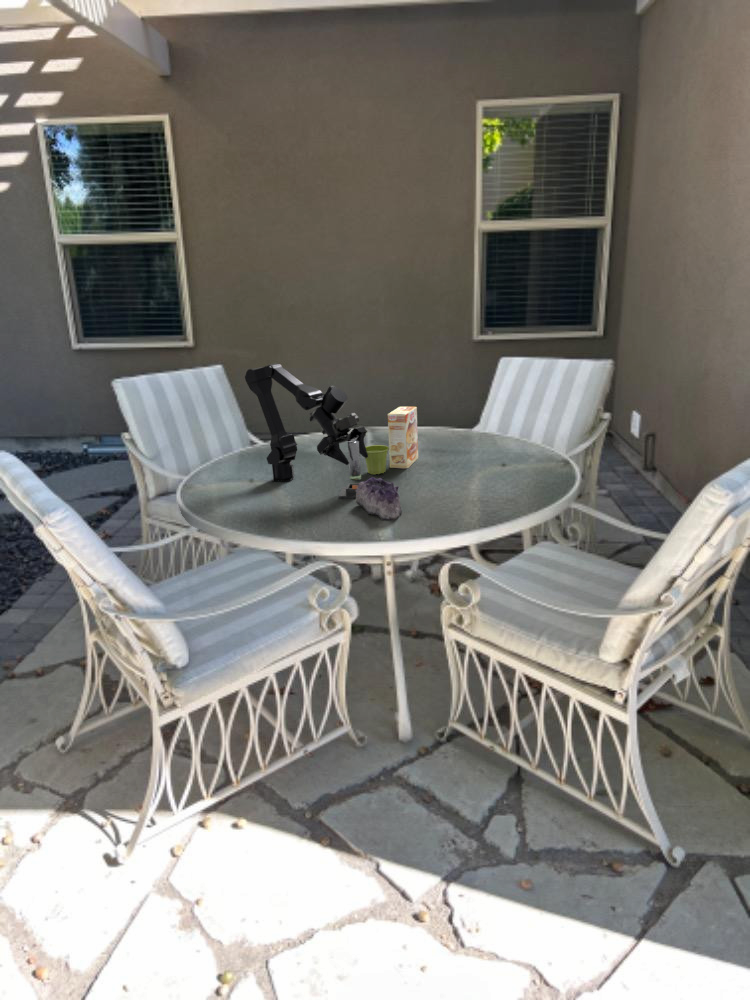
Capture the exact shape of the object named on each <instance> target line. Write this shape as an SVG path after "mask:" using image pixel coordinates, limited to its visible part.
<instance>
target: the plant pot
mask: <svg viewBox="0 0 750 1000" xmlns="http://www.w3.org/2000/svg"><path fill="white" fill-rule="evenodd" d="M365 447H366V451H367V454H368V457H367V458H365V457H364V459H365V464H366V468H367V473H368V474H370V475H376V474H378V475H380V474H385V473H386V469H387V459H388V458H387V457H388V454H389V445H388V446H387V445H382V444H381V445H380V444H379V445H377V444H376V445H375V444H374V445H368V446H365ZM384 472H385V473H384Z"/></svg>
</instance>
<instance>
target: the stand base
mask: <svg viewBox="0 0 750 1000" xmlns="http://www.w3.org/2000/svg"><path fill="white" fill-rule="evenodd" d="M358 484H359V483H348V484H347V486H342V488H341V490H340V492H339V494H338V496H337V497H338V499H341V500H342V499H356V490H357V486H358Z"/></svg>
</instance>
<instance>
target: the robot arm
mask: <svg viewBox="0 0 750 1000" xmlns="http://www.w3.org/2000/svg"><path fill="white" fill-rule="evenodd" d="M244 379H245V382H246V384H247V386H248V388H249V390H250V391H251V392H252V393H253V394H254V395H256V397H257V399H258V403H259V406H260V407H261V410H262V413H263V416H264V419H265V421H266V424H267V427H268V430H269V432H270V435H271V437H270V443H269V444H270V445H269V446H270V450H271V451H270V452H269V454H268V455H267V457H266V461H267V464H268V465H271V468H272V480H271V481H272V482H291V481H292V480H293V478H294V477H295V468H294V467H295V466H294V464H293V462H292V461H295V460H296V455H297V452H298V447H297V446H298V443H297V442H296V439H295V435H293V433H290V434H289V433H288V431H286V429H285V425H284V423H283V421H282V418H281V415H280V412H279V410H278V407H277V404H276V401H275V399H274V396H273V393H272V388H273V380H274V381H275V382H276V383H278V384H279V385H280V386H282V388H284V389H286V391H288V392H289V393H291V394H292V396H294V398H295V400H296V403H297V404H298V405H299V406H300V407H301V409H303V410H305V411H311V410H313V409H314V411H313V412H310V413H309V415H310V416H309V422H314V421H315V422H317V424H318V425H319V426H320V428H321V429H322V431H321V434H322V435H323V438H321V440H320V441H319V443H318V444H317V445H316V451H317V453H319V455H323V456H327V457H329V458H331V459H334V460H335V461H338V462H340V463H342V464H344V465H345V466H348V465H349V459H348V458H347V456H346V455H345V454H344V453H343V451H342V449H341V448H340V444H343V443H345V442H347V443H348V442H349V441H359V455H361V456H362V457H364V459H365V458H367V457H368V454H367V451H366V447H367V446H366V444H365V437H366V434H367V433H368V430H367V429H366V428H365V427H364V426H361V425H360V426H358V425H359V422H360V418H359V416H358V415H357V414H356V412H352V413H350V414H348V415H347V416H346V417H343V418H341V417H339V418H338V417H337V415H335V414H338V413H339V411H340V410H341V409H342V408H343V406H344V405H345V403H346V402H347V401H348V396H347V393H346V392H345V391H343V390H342V389H340V388H337V387H336V386H335V385H331V386H330V385H329V387H328V388H327V390H326V392H325V393H323V392H322V391H321V390H320V389H318V388H316V387H314V386H311V385H307V384H305V383H303V382H302V381H300V380H299V379H298V378H297V377H295V376H294V375H293V374H292V373H290V372H289V371H288V370H286V369H285V368H284V367H283V365H282V364H280V363H272V364H268V365H266V366H260V367H256V368H255V367H254V368H249V369H247V371H246V373H245V375H244ZM355 426H356V427H355ZM357 426H358V427H357ZM353 427H354V428H353ZM351 428H353V429H351ZM324 435H326V436H324Z"/></svg>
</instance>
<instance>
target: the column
mask: <svg viewBox="0 0 750 1000" xmlns="http://www.w3.org/2000/svg"><path fill="white" fill-rule="evenodd" d="M347 449H348V451H347V453H348V462H349V464H348V465H349V468H348V469H349V479H350V481H359V480H361V479H362V474H361V473H362V472H361V460H360V459H361V457H360V455H361V454H360V453H359V441H349V442H348V441H347Z"/></svg>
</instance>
